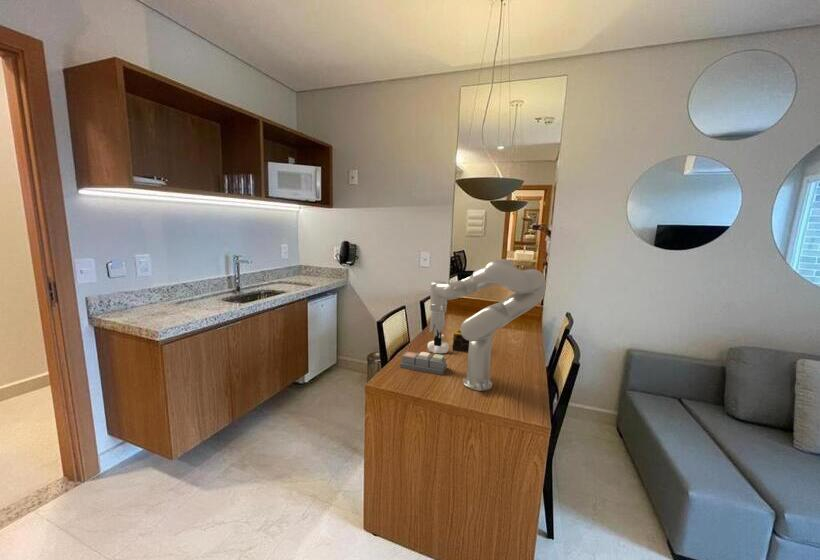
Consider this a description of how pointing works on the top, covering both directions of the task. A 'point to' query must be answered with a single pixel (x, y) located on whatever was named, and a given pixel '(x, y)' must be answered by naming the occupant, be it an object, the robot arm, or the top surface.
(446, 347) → the bust
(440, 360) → the sage button
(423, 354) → the cream button
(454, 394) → the top surface
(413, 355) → the terracotta button
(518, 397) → the top surface
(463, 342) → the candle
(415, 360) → the button board
